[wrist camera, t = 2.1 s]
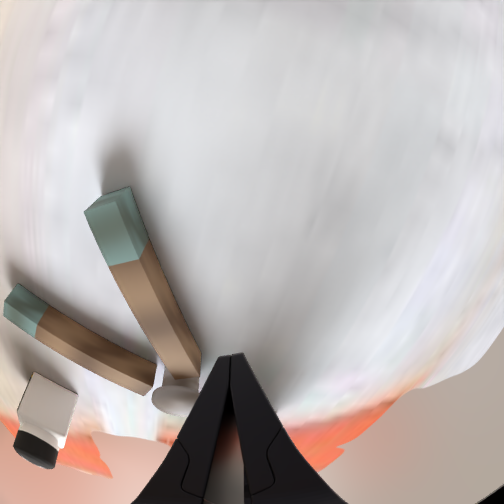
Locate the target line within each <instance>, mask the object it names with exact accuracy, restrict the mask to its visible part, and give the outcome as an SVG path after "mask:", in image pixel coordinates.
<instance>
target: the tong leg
mask: <svg viewBox="0 0 504 504" xmlns="http://www.w3.org/2000/svg"><path fill="white" fill-rule="evenodd" d="M84 214H85V216H86V219H87V221H88V224H89V226H90V228H91V231H92V233H93V235H94V237H95V240H96V242H97V244H98V246H99V248H100V250H101V253H102V255H103V257H104V259H105V261H106V263H107V265H108V267H109V269H110V271H111V273H112V275H113V277H114V279H115V281H116V283H117V285H118V287H119V289H120V290H121V292H122V294H123V296H124V298H125V300H126V302H127V303H128V305H129V307H130V309H131V311H132V312H133V314H134V316H135V318H136V319H137V321H138V323H139V324H140V326H141V328H142V329H143V331H144V333H145V334H146V336H147V338H148V339H149V341H150V343H151V344H152V346H153V347H154V349H155V351H156V352H157V354H158V355H159V357H160V358H161V360H162V361H163V363H164V364H165V366H166V367H167V369H168V370H169V372H170V373H171V375H172V376H173V378H174V379H175V380H177V379H187V378H195V377H200V367H201V352H200V350H199V348H198V346H197V344H196V342H195V340H194V338H193V336H192V334H191V332H190V330H189V328H188V326H187V324H186V322H185V319H184V317H183V315H182V313H181V311H180V309H179V307H178V305H177V302H176V300H175V298H174V296H173V294H172V291H171V289H170V287H169V285H168V282H167V280H166V278H165V275H164V273H163V271H162V268H161V266H160V264H159V261H158V259H157V257H156V254H155V252H154V249H153V247H152V244H151V242H150V239H149V237H148V234H147V232H146V229H145V227H144V224H143V221H142V219H141V216H140V213H139V211H138V208H137V205H136V203H135V200H134V197H133V194H132V191H131V188H130V187H127V188H124V189H121V190H118V191H115V192H112V193H109V194H106V195H103V196H101V197H99V198H98V199H97V200H96V201H95V202H94V203H93V204H92V205H91V206H90V207H89V208H87V209H86V210H85V211H84Z"/></svg>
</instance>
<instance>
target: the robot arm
mask: <svg viewBox="0 0 504 504" xmlns="http://www.w3.org/2000/svg"><path fill="white" fill-rule="evenodd" d="M177 438H178V439H176V440H175V441H174V443H173V445H172V447H171V449H170V451H169V452H168V454H167V456H166V458H165V459H164V461H163V463H162V464H161V465H160V467H159V468H158V470H157V471H156V473H155V474H154V475H153V477H152V478H151V479H150V481H149V482H148V484H147V485H146V486H145V488H144V489H143V490H142V492H141V493H140V494H139V496H138V497H137V498H136V499H135V500H134V501H133V502H132V503H131V504H348V503H347V502H345V501H344V500H343V499H342V498H341V497H340V496H339V495H337V494H336V493H335V492H334V491H333V490H332V489H331V488H330V487H329V486H328V484H327V483H326V482H325V481H324V480H323V479H322V478H321V477H320V476H319V475H318V473H317V472H316V471H315V470H314V469H313V468H312V466H311V465H310V464H309V463H308V462H307V461H306V459H305V458H304V457H303V456H302V454H301V453H300V452H299V450H298V449H297V448H296V446H295V445H294V443H293V442H292V440H291V439H290V437H289V435H288V434H287V432H286V430H285V428H283V425H282V423H281V422H280V420H279V418H278V416H277V415H276V413H275V411H274V409H273V407H272V406H271V404H270V402H269V400H268V398H267V397H266V395H265V393H264V391H263V389H262V387H261V386H260V384H259V382H258V380H257V378H256V376H255V374H254V372H253V371H252V369H251V367H250V365H249V363H248V361H247V359H246V357H245V355H244V354H243V353H236V354H232V355H224V356H220V357H218V359H217V361H216V363H215V365H214V367H213V369H212V371H211V372H210V374H209V376H208V378H207V380H206V382H205V384H204V386H203V388H202V390H201V392H200V394H199V396H198V398H197V400H196V402H195V404H194V405H193V407H192V409H191V411H190V413H189V415H188V417H187V419H186V421H185V423H184V425H183V426H182V428H181V430H180V432H179V434H178V436H177ZM476 504H504V484H503V485H502V486H500V487H499V488H498V489H496V490H495V491H493V492H492V493H491V494H489V495H488V496H486V497H485V498H483V499H482V500H480V501H479V502H477V503H476Z"/></svg>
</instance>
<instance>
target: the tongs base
mask: <svg viewBox="0 0 504 504" xmlns="http://www.w3.org/2000/svg"><path fill="white" fill-rule="evenodd" d="M3 316H4V317H6V318H7V319H8V320H10V321H11V322H12V323H14V324H15V325H16V326H18V327H19V328H21V329H22V330H24V331H25V332H26V333H28V334H29V335H31V336H32V337H34V338H35V339H37V340H38V341H40V342H42V343H43V344H45V345H46V346H48V347H49V348H51V349H53V350H54V351H56V352H58V353H59V354H61V355H63V356H64V357H66V358H68V359H70V360H71V361H73V362H75V363H77V364H78V365H80V366H82V367H84V368H86V369H88V370H90V371H91V372H93V373H95V374H97V375H99V376H101V377H103V378H105V379H107V380H109V381H111V382H114V383H116V384H118V385H120V386H122V387H124V388H126V389H129V390H131V391H133V392H135V393H138V394H140V395H142V396H144V395H145V394H146V393H147V392H148V391H149V390H150V389H151V388H152V387H153V384H154V379H155V373H156V368H157V365H156V364H154V363H152V362H150V361H148V360H146V359H143V358H141V357H139V356H137V355H135V354H133V353H131V352H129V351H127V350H125V349H123V348H121V347H120V346H118V345H116V344H114V343H112V342H110V341H108V340H106V339H105V338H103V337H101V336H99V335H97V334H96V333H94V332H92V331H90V330H89V329H87V328H85V327H83V326H82V325H80V324H78V323H77V322H75V321H73V320H72V319H70V318H68V317H67V316H65V315H64V314H62V313H61V312H59V311H57V310H56V309H54V308H53V307H51V306H50V305H48V304H47V303H45V302H44V301H42V300H41V299H39V298H38V297H36V296H35V295H34V294H32V293H31V292H29V291H28V290H27V289H25V288H24V287H22V286H21V285H20V284H17V285H16V287H15V288H14V289H13V290H12V292H11V293H10V294H9V296H8V297H7V298H6V300H5V301H4V313H3ZM198 389H199V377H195V378H187V379H177V380H175V379H174V378H173V376H172V375H171V373H170V372H169V370H168V369H167V367H165V371H164V377H163V383H162V387H159V388H157V389H156V390H154V392H153V394H152V403H153V405H154V406H155V407H156V408H158V409H159V410H161V411H163V412H165V413H167V414H171V415H175V416H183V417H187V416H188V415H189V413H190V411H191V409H192V407H193V405H194V404H195V402H196V400H197V398H198V396H199V394H200V393H199V392H198Z"/></svg>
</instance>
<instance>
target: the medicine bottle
mask: <svg viewBox="0 0 504 504" xmlns="http://www.w3.org/2000/svg"><path fill="white" fill-rule="evenodd" d="M77 399H78V395H77V394H76V393H74V392H72V391H70V390H68V389H66V388H64V387H62V386H60V385H58V384H56V383H54V382H52V381H50V380H49V379H47V378H45V377H43V376H41V375H40V374H38V373H36V372H33V374H32V376H31V378H30V380H29V383H28V385H27V387H26V390H25V392H24V394H23V397H22V399H21V402H20V404H19V406H18V409H17V414H18V418H19V422H20V427H19V430H18V433H17V436H16V439H15V442H14V445H13V447H14V449H15V450H16V452H17V453H18V454H19V455H20V456H21V457H23V458H24V459H26V460H27V461H29V462H31V463H33V464H35V465H37V466H39V467H42V468H44V469H53V468H54V467H55V463H56V459H57V455H58V451H59V447H60V448H64V445H65V442H66V438H67V434H68V431H69V427H70V423H71V420H72V417H73V413H74V410H75V406H76V403H77Z"/></svg>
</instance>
